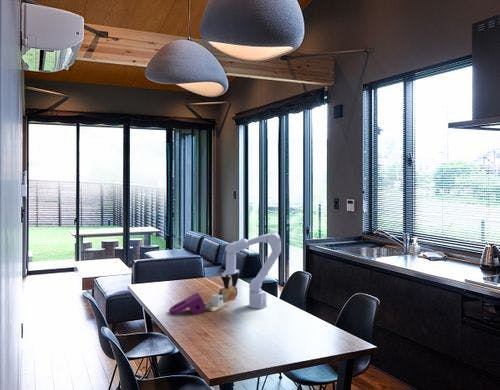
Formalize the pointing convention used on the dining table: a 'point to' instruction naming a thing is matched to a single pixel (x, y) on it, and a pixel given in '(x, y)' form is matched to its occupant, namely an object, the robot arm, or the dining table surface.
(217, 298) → the white block
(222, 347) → the dining table surface
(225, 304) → the rail
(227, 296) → the tin
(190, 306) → the mounting bracket
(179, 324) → the dining table surface
